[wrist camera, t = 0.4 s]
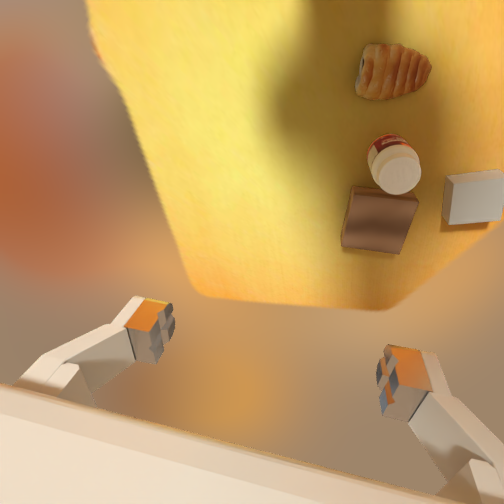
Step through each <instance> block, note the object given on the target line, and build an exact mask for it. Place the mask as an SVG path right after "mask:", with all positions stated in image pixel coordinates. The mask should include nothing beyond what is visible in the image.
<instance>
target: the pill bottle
mask: <svg viewBox="0 0 504 504" xmlns="http://www.w3.org/2000/svg"><path fill="white" fill-rule="evenodd" d="M367 163H368V165H369V168H370V171H371V174H372V177H373V179H374V181H375V182H376V183H377V184H378V185H379V186H380V187H381V188H382V189H383V190H384V191H385V192H387V193H389V194H394V195H399V194H403V193H406V192H408V191H410V190H411V189H413V188H414V187H415V186H416V185H417V183H418V182H419V180H420V177H421V167H420V161H419V157H418V155H417V153H416V152H415V151H414V150H413V148H412V147H411V146H410V145H409V144H408V143H407V142H406V141H405V140H404V139H403V138H402V137H401V136H399V135H396V134H386V135H382V136H380V137H378V138H377V139H375V140H374V141H373V142H372V143H371V145H370V146H369V148H368V151H367Z"/></svg>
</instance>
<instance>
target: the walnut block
mask: <svg viewBox="0 0 504 504" xmlns="http://www.w3.org/2000/svg"><path fill="white" fill-rule="evenodd" d="M418 204H419V201H418V200H417V198H416V197H415V195H414V193H411V192H406V193H403V194H399V195H394V194H389V193H387V192H385V191H384V190H383V189H374V188H365V187H356V186H352V189H351V193H350V198H349V202H348V206H347V210H346V215H345V219H344V223H343V227H342V232H341V246H343V247H350V248H357V249H364V250H371V251H378V252H385V253H392V254H400V251H401V248H402V246H403V243H404V241H405V238H406V235H407V233H408V230H409V227H410V225H411V222H412V219H413V217H414V214H415V212H416V209H417V206H418Z"/></svg>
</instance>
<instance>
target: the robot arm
mask: <svg viewBox="0 0 504 504" xmlns="http://www.w3.org/2000/svg"><path fill="white" fill-rule="evenodd" d="M172 311H173V305H172V304H171V303H169V302H164V301H159V300H155V299H150V298H144V297H140V296H134V297H133V298H132V299H131V300H130V301H129V302H128V303H127V305H126V306H125V307H124V308H123V309H122V311H121V312H120V313H119V314H118V316H117V317H116V318H115V319H114V320H113V321H112V323H111V324H105V325H103V326H101V327H99V328H97V329H95V330H93V331H91V332H89V333H87V334H85V335H82V336H81V337H78V338H76V339H74V340H72V341H71V342H68V343H66V344H64V345H62V346H60V347H58V348H56V349H54V350H52V351H49V352H47V353H46V354H43V355H42V356H41V357H40V358H39V359H38V360H37V361H36V362H35V363H34V364H33V365H32V366H31V367H30V368H29V369H28V370H27V371H26V372H25V373H24V374H23V375H22V376H21V377H20V378H19V379H18V380H17V381H16V382H15V383H14V384H13V385H12V386H11V385H7V384H4V383H0V504H504V444H503V443H502V442H501V441H500V440H499V439H498V438H497V437H496V436H495V435H494V434H493V433H492V432H491V431H490V430H489V429H488V428H487V427H486V426H485V425H484V424H482V422H481V421H480V420H479V419H478V418H477V417H476V416H475V415H474V414H473V413H472V412H471V411H470V410H469V409H468V408H467V407H466V406H465V405H464V404H463V403H462V402H461V401H460V400H459V399H458V398H456V397H452V395H451V392H450V390H449V387H448V384H447V382H446V379H445V376H444V374H443V371H442V368H441V366H440V363H439V361H438V358H437V356H436V354H435V353H433V352H427V351H422V350H416V349H411V348H406V347H400V346H395V345H389V344H388V345H387V346H386V347H385V349H384V356H385V357H383V358H381V359H380V360H379V363H378V366H377V372H376V376H377V385H378V387H379V388H380V389H381V391H382V393H381V395H380V397H379V399H380V405H381V412H382V416H385V417H389V418H393V419H397V420H401V421H405V422H408V424H409V426H410V427H411V429H412V430H413V432H414V433H415V435H416V436H417V437H418V439H419V441H420V442H421V444H422V445H423V446H424V448H425V450H426V451H427V452H428V454H429V455H430V457H431V458H432V460H433V461H434V463H435V464H436V466H437V467H438V469H439V470H440V472H441V473H442V475H443V476H444V478H445V479H446V481H447V482H448V483H447V484H446V485H445V486H444V487H443V488H442V489H441V490H440V491H439V492H438V493H437V494H436V495H431V494H427V493H423V492H419V491H415V490H411V489H407V488H403V487H400V486H396V485H392V484H388V483H384V482H380V481H377V480H373V479H369V478H365V477H361V476H357V475H354V474H350V473H346V472H342V471H338V470H334V469H330V468H327V467H323V466H319V465H315V464H311V463H308V462H304V461H300V460H296V459H292V458H288V457H285V456H281V455H277V454H273V453H269V452H266V451H262V450H258V449H254V448H250V447H246V446H242V445H238V444H235V443H231V442H227V441H223V440H219V439H215V438H212V437H207V436H204V435H200V434H196V433H192V432H188V431H185V430H181V429H177V428H173V427H169V426H165V425H162V424H158V423H154V422H150V421H145V420H142V419H138V418H135V417H131V416H126V415H123V414H119V413H115V412H111V411H108V410H104V409H100V408H97V406H96V403H95V400H94V398H93V396H92V393H93V392H95V391H96V390H97V389H98V388H100V387H101V386H102V385H104V384H105V383H107V382H108V381H110V380H111V379H112V378H114V377H115V376H116V375H118V374H119V373H120V372H122V371H123V370H125V369H126V368H127V367H129V366H130V365H132V364H133V363H134V362H135V360H137V361H141V362H146V363H152V364H157V362H158V360H159V358H160V357H161V355H162V353H163V351H164V347H163V345H164V344H165V343H167V342H169V341H170V339H171V337H172V335H173V332H174V329H175V318H174V317H173V316H172V315H171V313H172Z"/></svg>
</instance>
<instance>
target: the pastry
mask: <svg viewBox="0 0 504 504" xmlns="http://www.w3.org/2000/svg"><path fill="white" fill-rule="evenodd" d="M431 68H432V66H431V64H430V62H429V60H428V58H427V57H426V56H424V55H422V54H420V53H419V52H417V51H415V50H413V49H409V48H405V47H403V46H402V45H401V44H395V45H386V44H377V45H374V44H371V43H370V44H368V45H367V46H366V47H365V48H364V51H363V56H362V58H361V62H360V68H359V75H358V77H357V79H356V83H355V91H356V93H357V95H358V96H362V97H364V98H366V99H368V100H375V99H384V100H387V99H390V98H395V97H398V96H402V95H404V94H406V93H409V92H414V91H416V90H417V89H419V88H420V87H421V86H422V85H423V84H424V83H425V82H426V79H427V77H428V75H429V73H430V71H431Z"/></svg>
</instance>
